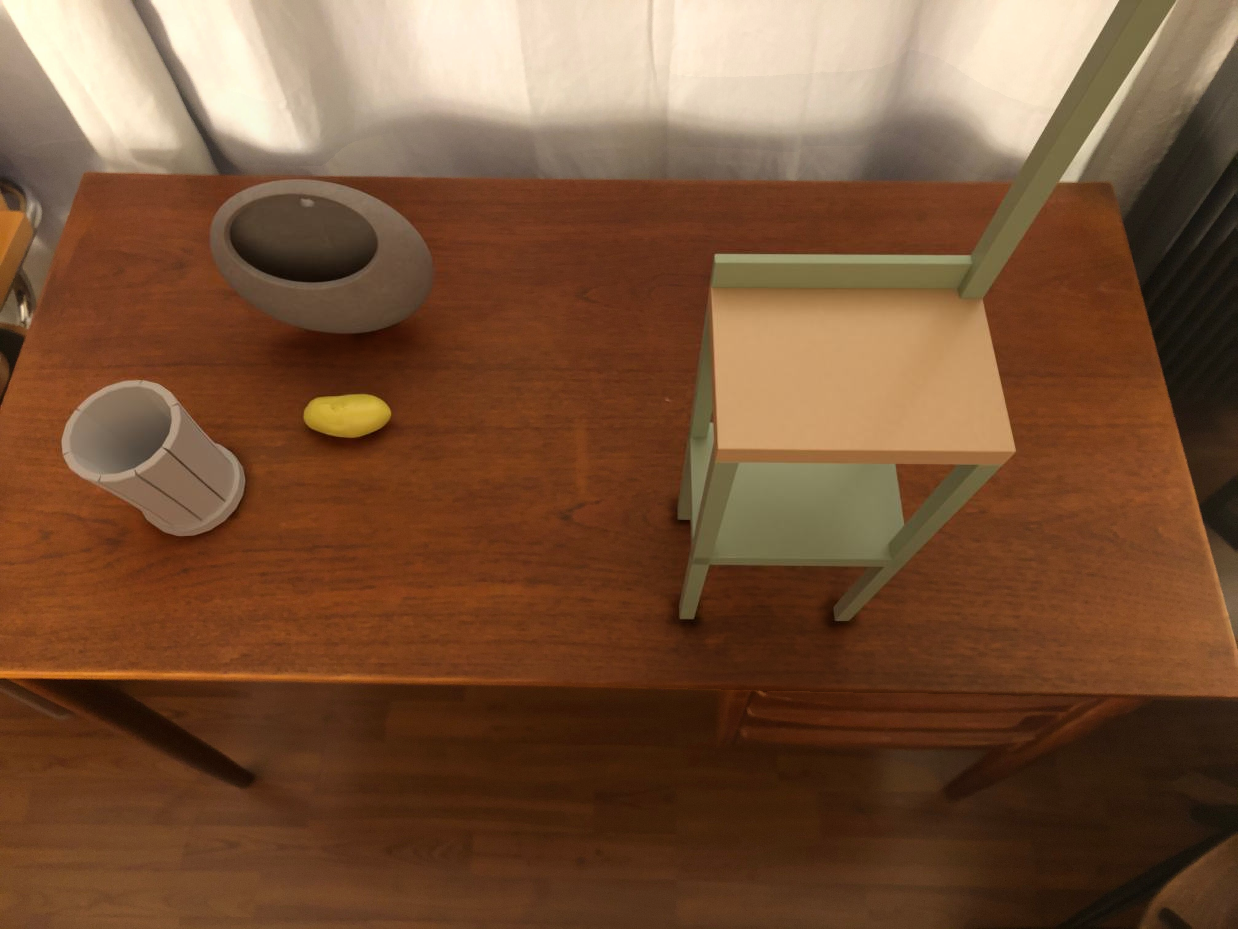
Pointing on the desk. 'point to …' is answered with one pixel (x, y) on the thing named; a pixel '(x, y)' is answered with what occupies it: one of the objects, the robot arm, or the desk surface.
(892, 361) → the mint side table
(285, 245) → the planter
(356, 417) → the yellow potato
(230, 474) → the cup
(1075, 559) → the desk surface
